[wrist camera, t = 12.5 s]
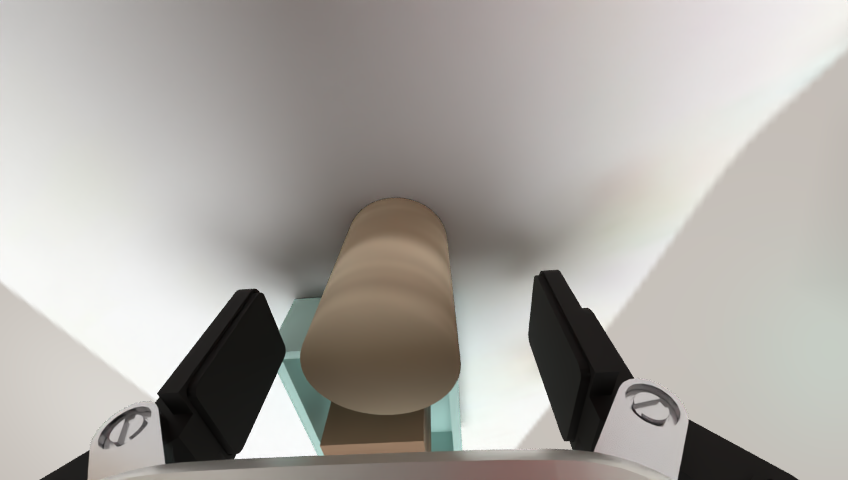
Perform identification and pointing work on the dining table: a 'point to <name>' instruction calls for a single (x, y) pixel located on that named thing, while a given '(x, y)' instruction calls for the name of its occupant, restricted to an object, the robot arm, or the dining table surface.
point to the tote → (316, 406)
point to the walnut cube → (375, 432)
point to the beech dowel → (386, 315)
